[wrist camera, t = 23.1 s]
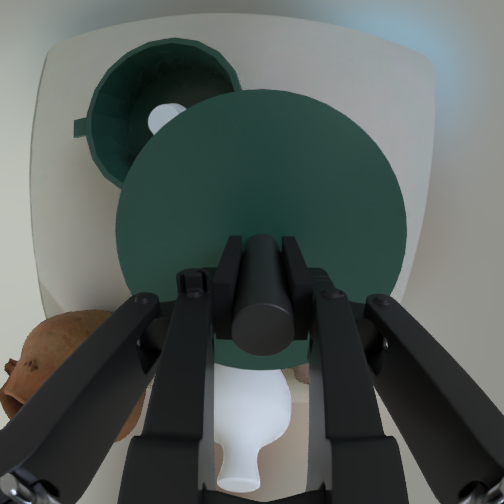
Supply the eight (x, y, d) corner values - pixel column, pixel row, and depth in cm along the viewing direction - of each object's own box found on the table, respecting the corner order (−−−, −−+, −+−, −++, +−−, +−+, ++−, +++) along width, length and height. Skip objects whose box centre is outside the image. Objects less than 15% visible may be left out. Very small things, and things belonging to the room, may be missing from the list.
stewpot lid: (116, 107, 16) (16, 85, 7) (407, 110, 16) (506, 91, 6) (145, 353, 23) (102, 439, 13) (373, 356, 23) (412, 442, 13)
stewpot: (114, 78, 35) (76, 61, 24) (266, 62, 35) (269, 31, 24) (112, 190, 41) (72, 202, 31) (265, 186, 41) (267, 196, 30)
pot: (99, 259, 45) (-15, 355, 17) (189, 349, 51) (147, 486, 23) (53, 321, 51) (-22, 403, 22) (126, 390, 56) (81, 489, 28)
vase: (297, 363, 51) (315, 491, 25) (233, 386, 54) (220, 505, 27) (264, 309, 47) (266, 453, 21) (194, 338, 50) (154, 467, 23)
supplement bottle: (186, 152, 39) (165, 151, 30) (160, 132, 38) (133, 127, 29) (208, 124, 38) (194, 114, 29) (181, 104, 37) (160, 91, 28)
